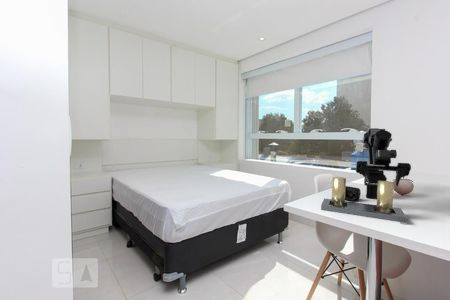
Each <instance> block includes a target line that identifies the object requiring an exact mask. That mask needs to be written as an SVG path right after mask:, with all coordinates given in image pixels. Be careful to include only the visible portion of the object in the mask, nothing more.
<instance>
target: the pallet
mask: <svg viewBox="0 0 450 300" xmlns="http://www.w3.org/2000/svg"><path fill="white" fill-rule="evenodd" d="M322 200H323V201H322V202H321V205H320V206H321V207H320V210H321V211H324V212H325V211H326V212H332V213H338V214H344V215H350V216H355V217H356V216H357V217H364V218H370V219H377V220H384V221H389V222H398V223H400V224H401V225H408V216H407V215H406V214H405V212H404V210H403V209H402V208H400V207H393V206H392V213H386V212H379V211H376V207H377V204H369V203H362V202H357V201H355V202H350V201H345V207H343V206H336V205H332V198H323V199H322Z"/></svg>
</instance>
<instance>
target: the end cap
mask: <svg viewBox="0 0 450 300" xmlns="http://www.w3.org/2000/svg"><path fill="white" fill-rule="evenodd" d="M361 194H362V193H361V189H360V188H359V187H353V186H349V185H346V187H345V201H348V202H358V201H359V200H360V198H361Z"/></svg>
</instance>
